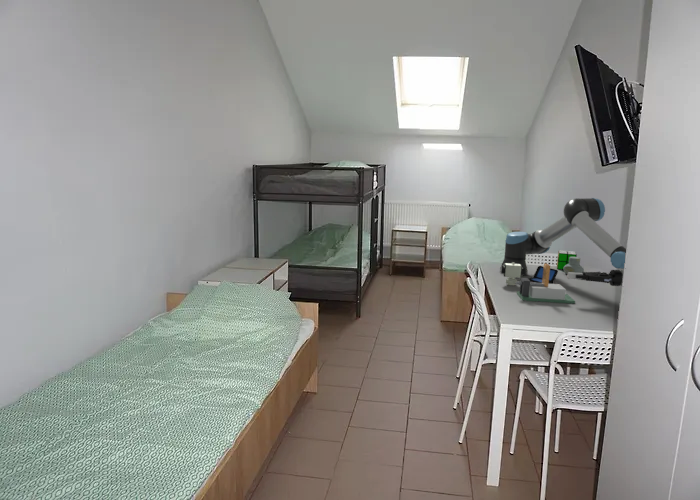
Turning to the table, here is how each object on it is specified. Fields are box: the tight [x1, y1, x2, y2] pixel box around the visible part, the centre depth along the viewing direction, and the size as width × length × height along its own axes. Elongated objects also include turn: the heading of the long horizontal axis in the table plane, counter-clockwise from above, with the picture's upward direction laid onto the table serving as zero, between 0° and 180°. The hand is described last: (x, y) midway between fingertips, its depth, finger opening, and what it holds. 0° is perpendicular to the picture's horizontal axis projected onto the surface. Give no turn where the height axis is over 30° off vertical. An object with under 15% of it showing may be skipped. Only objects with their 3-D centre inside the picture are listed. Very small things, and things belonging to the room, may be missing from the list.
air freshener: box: [562, 256, 585, 275], centre depth 313 cm, size 11×8×10 cm
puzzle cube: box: [556, 249, 578, 270], centre depth 329 cm, size 10×10×10 cm
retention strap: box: [515, 263, 551, 287], centre depth 258 cm, size 14×5×10 cm, turn 85°
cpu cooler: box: [516, 277, 576, 304], centre depth 259 cm, size 24×12×9 cm, turn 85°
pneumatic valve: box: [499, 262, 525, 287], centre depth 283 cm, size 6×12×12 cm, turn 81°
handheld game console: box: [527, 265, 559, 284], centre depth 293 cm, size 12×11×7 cm
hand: (567, 275), depth 256 cm, fingers closed
